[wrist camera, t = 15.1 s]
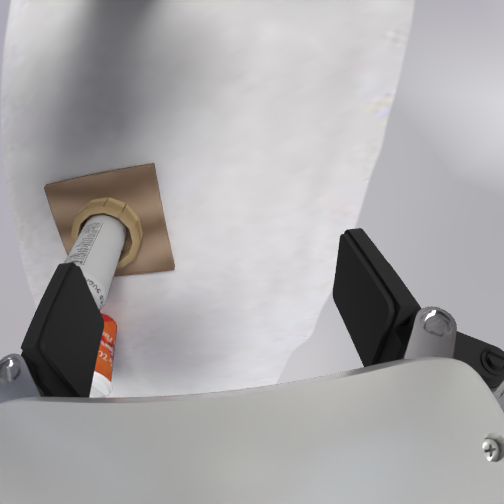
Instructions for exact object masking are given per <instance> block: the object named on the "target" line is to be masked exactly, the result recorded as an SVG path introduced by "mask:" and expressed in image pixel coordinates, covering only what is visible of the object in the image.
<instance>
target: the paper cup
mask: <svg viewBox="0 0 504 504" xmlns="http://www.w3.org/2000/svg"><path fill="white" fill-rule="evenodd" d="M101 315H102V317H103V320H104V330H103V334H102V339H101V343H100V347H99V352H98V356H97V361H96V366H95V371H94V376H93V381H92V386H91V391H90V397H89V398H105V397H106V396H108V395H109V393H110V392H111V391H112V388H113V387H112V384H111V378H112V367H113V358H114V349H115V340H116V330H117V326H116V323H115V321H114V320H113V319H112V318H110V317H109V316H107V315H104V314H101Z"/></svg>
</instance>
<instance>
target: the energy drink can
mask: <svg viewBox="0 0 504 504" xmlns="http://www.w3.org/2000/svg"><path fill="white" fill-rule="evenodd" d="M125 240H126V228H125V226H124V224H123V222H122V221H121V220H120V219H119V218H117V217H114V216H112V215H109V214H106V213H99V214H94V215H92V216H91V217H90V218H89V219H88V221H87V222H86V224H85V226H84V227H83V229H82V231H81V233H80V234H79V236H78V238H77V240H76V242H75V243H74V245H73V247H72V249H71V251H70V253H69V255H68V257H67V258H66V260H65V262H64V263H71V262H73V263H75V264H76V266H80V268H81V270H82V272H83V275H84V277H85V279H86V282H87V284H88V286H89V289H90V291H91V293H92V295H93V298H94V300H95V302H96V304H97V306H98V309H99V310H100V309H101V308H102V307H103V306H104V305H105V303H106V300H107V296H108V293H109V289H110V286H111V283H112V279H113V276H114V273H115V270H116V267H117V264H118V260H119V257H120V254H121V251H122V248H123V245H124V243H125Z"/></svg>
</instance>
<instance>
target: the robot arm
mask: <svg viewBox="0 0 504 504" xmlns="http://www.w3.org/2000/svg"><path fill="white" fill-rule="evenodd" d="M333 299H334V302H335V304H336V306H337V308H338V310H339V312H340V315H341V316H342V319H343V321H344V323H345V325H346V328H347V330H348V332H349V334H350V336H351V339H352V341H353V343H354V345H355V347H356V350H357V352H358V354H359V356H360V359H361V361H362V363H363V365H364V367H363V368H359V369H354V370H350V371H345V372H340V373H335V374H330V375H325V376H320V377H315V378H311V379H304V380H299V381H293V382H288V383H281V384H275V385H268V386H261V387H254V388H246V389H239V390H230V391H221V392H211V393H201V394H189V395H174V396H156V397H127V398H89V397H90V391H91V386H92V381H93V376H94V371H95V366H96V361H97V356H98V352H99V347H100V343H101V339H102V334H103V330H104V320H103V317H102V315H101V313H100V311H99V309H98V306H97V304H96V302H95V300H94V298H93V295H92V293H91V291H90V289H89V286H88V284H87V282H86V279H85V277H84V275H83V272H82V270H81V268H80V266H76V264H75V263H73V262H71V263H63V264H59V265H58V267H57V269H56V271H55V273H54V275H53V277H52V279H51V281H50V283H49V285H48V287H47V289H46V291H45V293H44V295H43V297H42V299H41V301H40V304H39V306H38V308H37V310H36V312H35V315H34V317H33V319H32V321H31V324H30V326H29V328H28V331H27V333H26V336H25V338H24V341H23V343H22V346H21V349H22V350H23V352H22V354H21V356H20V355H19V354H10V355H7V356H5V357H4V358H3V359H1V360H0V504H504V351H502V350H501V349H500V348H498V347H496V346H493V345H490V344H488V343H485V342H483V341H480V340H478V339H475V338H473V337H470V336H468V335H465V334H463V333H460V332H458V331H457V326H456V325H457V324H456V322H455V319H454V318H453V317H452V316H451V314H449V313H448V312H447V311H445V310H443V309H441V308H438V307H425V308H422V309H421V307H420V306H419V304H418V303H417V301H416V300H415V298H414V297H413V296H412V294H411V293H410V291H409V290H408V289H407V287H406V286H405V284H404V283H403V281H402V280H401V279H400V277H399V276H398V275H397V273H396V272H395V270H394V269H393V268H392V266H391V265H390V264H389V263H388V262H387V260H386V259H385V258H384V256H383V255H382V254H381V253H380V251H379V250H378V249H377V247H376V246H375V245H374V243H373V242H372V241H371V239H370V238H369V237H368V236H367V234H366V233H365V232H364V231H363V229H361V228H358V229H349V230H346V231H345V233H344V234H342V235H341V236H340V241H339V249H338V257H337V265H336V273H335V280H334V287H333Z"/></svg>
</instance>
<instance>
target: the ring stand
mask: <svg viewBox="0 0 504 504" xmlns="http://www.w3.org/2000/svg"><path fill="white" fill-rule="evenodd" d="M44 189H45V193H46V196H47V199H48V202H49V205H50V208H51V211H52V214H53V217H54V220H55V223H56V226H57V228H58V231H59V234H60V237H61V239H62V242H63V245H64V247H65V250H66V252H67V255H69V253H70V251H71V249H72V247H73V245H74V243H75V242H76V240H77V238H78V236H79V234H80V233H81V231H82V229H83V227H84V226H85V224H86V222H87V221H88V219H89V218H90V217H91V216H92V215H94V214H99V213H106V214H109V215H112V216H114V217H117V218H119V219H120V220H121V221H122V222H123V224H124V226H125V228H126V240H125V243H124V245H123V248H122V251H121V254H120V257H119V260H118V264H117V267H116V270H115V273H114V276H123V275H132V274H141V273H149V272H158V271H167V270H174V269H175V264H174V260H173V255H172V251H171V246H170V242H169V237H168V233H167V228H166V223H165V218H164V213H163V208H162V203H161V198H160V193H159V187H158V182H157V176H156V171H155V165H154V163H152V164H146V165H140V166H134V167H128V168H122V169H117V170H111V171H106V172H101V173H96V174H91V175H86V176H81V177H77V178H72V179H68V180H63V181H59V182H55V183H51V184H47V185H46V186H45V187H44ZM114 276H113V277H114Z"/></svg>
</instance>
